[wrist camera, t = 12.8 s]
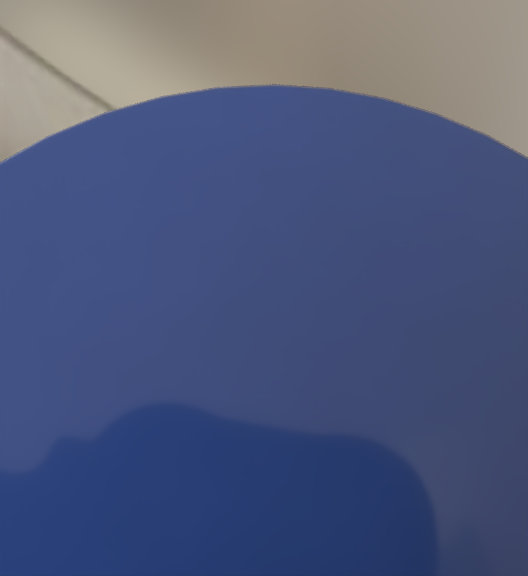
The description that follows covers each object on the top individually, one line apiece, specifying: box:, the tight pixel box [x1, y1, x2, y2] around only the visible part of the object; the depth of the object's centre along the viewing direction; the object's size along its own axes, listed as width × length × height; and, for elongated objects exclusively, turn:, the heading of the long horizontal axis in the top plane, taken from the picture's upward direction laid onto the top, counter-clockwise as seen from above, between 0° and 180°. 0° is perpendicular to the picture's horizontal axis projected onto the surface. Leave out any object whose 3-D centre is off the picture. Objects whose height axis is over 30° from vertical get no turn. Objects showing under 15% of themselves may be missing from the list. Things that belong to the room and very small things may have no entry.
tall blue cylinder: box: [0, 84, 528, 576], centre depth 9 cm, size 6×6×14 cm
